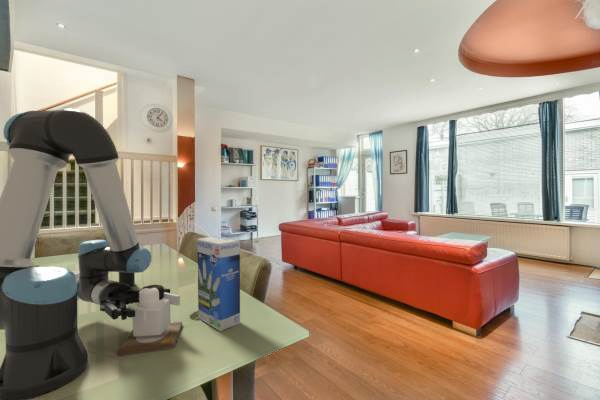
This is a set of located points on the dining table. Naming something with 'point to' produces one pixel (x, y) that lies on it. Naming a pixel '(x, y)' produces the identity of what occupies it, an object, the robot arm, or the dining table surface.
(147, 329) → the medicine bottle
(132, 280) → the wine bottle
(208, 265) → the string lights box
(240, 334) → the dining table surface
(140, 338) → the plate
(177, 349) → the dining table surface
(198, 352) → the dining table surface
